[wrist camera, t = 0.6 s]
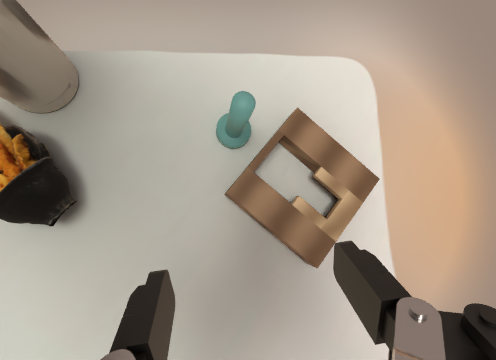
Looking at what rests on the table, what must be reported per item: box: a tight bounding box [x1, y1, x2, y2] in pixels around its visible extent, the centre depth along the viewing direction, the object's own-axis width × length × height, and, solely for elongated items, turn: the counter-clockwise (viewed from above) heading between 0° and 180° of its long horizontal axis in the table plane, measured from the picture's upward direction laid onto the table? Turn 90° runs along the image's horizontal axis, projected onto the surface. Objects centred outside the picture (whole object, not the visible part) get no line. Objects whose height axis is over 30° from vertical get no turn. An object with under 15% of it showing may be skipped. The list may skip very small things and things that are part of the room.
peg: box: [216, 91, 256, 149], centre depth 34 cm, size 5×5×11 cm
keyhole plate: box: [225, 108, 379, 268], centre depth 38 cm, size 16×16×4 cm
